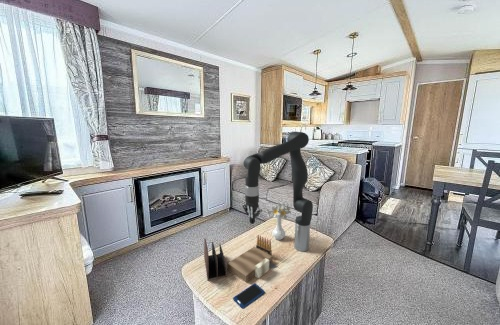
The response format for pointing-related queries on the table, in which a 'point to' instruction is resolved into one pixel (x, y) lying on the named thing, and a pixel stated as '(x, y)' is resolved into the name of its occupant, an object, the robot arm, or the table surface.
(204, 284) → the table surface
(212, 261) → the letter holder
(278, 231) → the flower vase
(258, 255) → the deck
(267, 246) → the ammunition clip
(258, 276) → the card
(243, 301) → the cell phone
